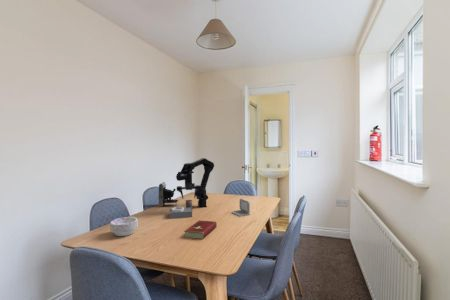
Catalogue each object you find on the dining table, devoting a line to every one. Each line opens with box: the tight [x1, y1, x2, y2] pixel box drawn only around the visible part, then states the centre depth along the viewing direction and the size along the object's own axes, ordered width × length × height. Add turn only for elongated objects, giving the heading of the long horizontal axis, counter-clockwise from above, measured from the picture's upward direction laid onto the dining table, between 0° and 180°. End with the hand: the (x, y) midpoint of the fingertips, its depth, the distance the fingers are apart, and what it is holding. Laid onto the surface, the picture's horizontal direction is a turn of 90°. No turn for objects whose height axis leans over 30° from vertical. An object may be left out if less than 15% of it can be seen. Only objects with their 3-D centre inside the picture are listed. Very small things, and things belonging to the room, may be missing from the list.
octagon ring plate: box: [169, 206, 193, 220], centre depth 184 cm, size 16×12×6 cm
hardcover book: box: [183, 219, 218, 240], centre depth 149 cm, size 12×21×4 cm, turn 162°
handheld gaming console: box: [231, 198, 251, 217], centre depth 187 cm, size 13×9×10 cm
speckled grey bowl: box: [109, 216, 139, 237], centre depth 148 cm, size 15×15×8 cm
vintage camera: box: [158, 181, 179, 207], centre depth 217 cm, size 10×16×20 cm, turn 89°
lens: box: [185, 199, 193, 211], centre depth 199 cm, size 5×5×8 cm
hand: (188, 198), depth 199 cm, fingers open, 9 cm apart
